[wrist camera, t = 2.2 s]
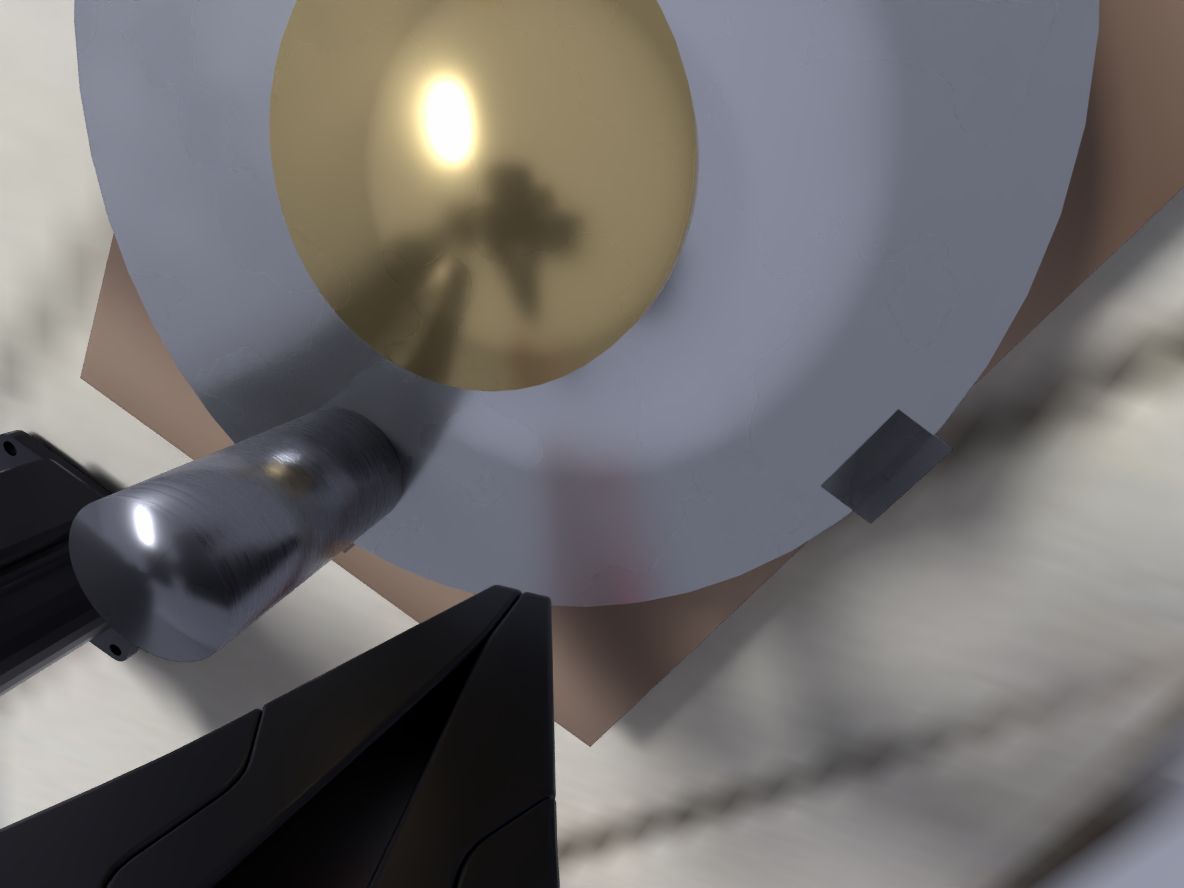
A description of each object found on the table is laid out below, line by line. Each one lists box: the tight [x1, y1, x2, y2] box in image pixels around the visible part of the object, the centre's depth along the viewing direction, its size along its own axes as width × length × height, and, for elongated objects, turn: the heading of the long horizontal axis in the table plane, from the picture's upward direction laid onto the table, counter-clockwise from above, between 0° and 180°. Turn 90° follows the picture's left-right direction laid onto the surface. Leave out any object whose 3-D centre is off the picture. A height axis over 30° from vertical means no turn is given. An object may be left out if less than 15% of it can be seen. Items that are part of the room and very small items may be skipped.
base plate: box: [80, 0, 1184, 747], centre depth 11 cm, size 22×17×2 cm
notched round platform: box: [69, 0, 1099, 662], centre depth 8 cm, size 16×16×6 cm
